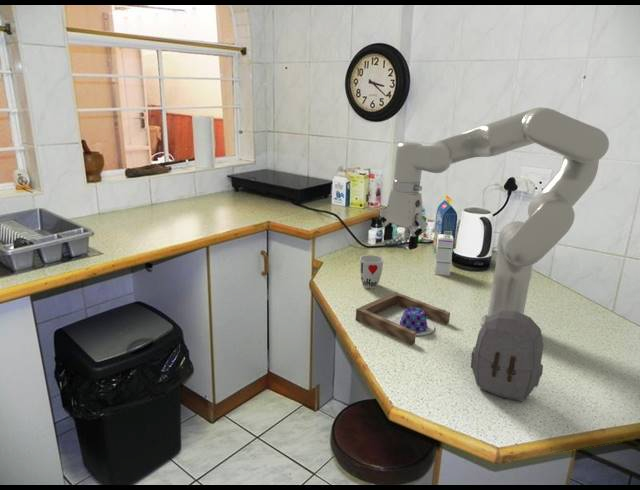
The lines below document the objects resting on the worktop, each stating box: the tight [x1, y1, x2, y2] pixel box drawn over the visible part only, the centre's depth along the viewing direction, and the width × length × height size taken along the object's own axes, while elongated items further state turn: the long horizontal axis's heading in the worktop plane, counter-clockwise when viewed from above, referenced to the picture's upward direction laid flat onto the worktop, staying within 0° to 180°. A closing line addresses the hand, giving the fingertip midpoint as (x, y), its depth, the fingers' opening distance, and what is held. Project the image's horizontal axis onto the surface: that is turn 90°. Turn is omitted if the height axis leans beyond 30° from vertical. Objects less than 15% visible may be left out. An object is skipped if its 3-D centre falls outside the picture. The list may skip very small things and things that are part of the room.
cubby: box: [355, 291, 451, 346], centre depth 138 cm, size 20×19×4 cm
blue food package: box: [432, 193, 458, 255], centre depth 196 cm, size 6×12×25 cm, turn 178°
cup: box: [359, 254, 384, 289], centre depth 162 cm, size 8×8×10 cm
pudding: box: [392, 307, 435, 336], centre depth 135 cm, size 12×12×5 cm
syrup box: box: [434, 234, 454, 276], centre depth 176 cm, size 6×6×14 cm
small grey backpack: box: [470, 311, 545, 401], centre depth 103 cm, size 15×8×20 cm, turn 59°
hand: (399, 244), depth 137 cm, fingers open, 9 cm apart
